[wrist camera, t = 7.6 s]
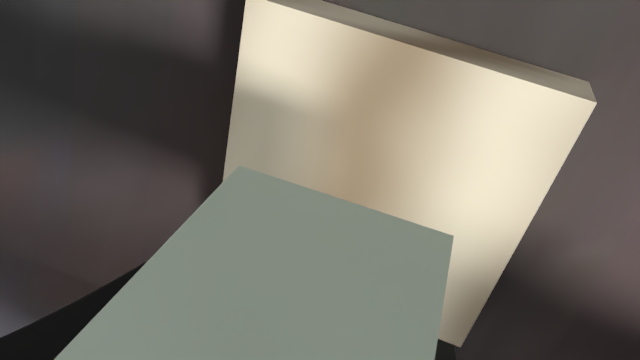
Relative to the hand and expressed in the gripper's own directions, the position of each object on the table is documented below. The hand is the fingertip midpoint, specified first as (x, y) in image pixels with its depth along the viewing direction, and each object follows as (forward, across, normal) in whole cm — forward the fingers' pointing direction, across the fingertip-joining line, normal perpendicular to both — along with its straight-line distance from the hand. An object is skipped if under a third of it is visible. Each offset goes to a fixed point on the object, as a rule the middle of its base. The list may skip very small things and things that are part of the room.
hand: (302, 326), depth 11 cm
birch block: (+8, 0, 0) cm, 8 cm away
